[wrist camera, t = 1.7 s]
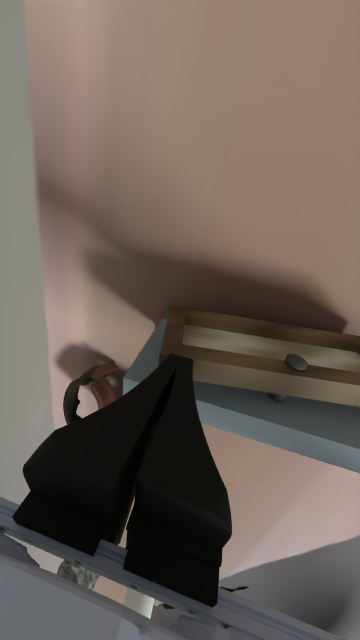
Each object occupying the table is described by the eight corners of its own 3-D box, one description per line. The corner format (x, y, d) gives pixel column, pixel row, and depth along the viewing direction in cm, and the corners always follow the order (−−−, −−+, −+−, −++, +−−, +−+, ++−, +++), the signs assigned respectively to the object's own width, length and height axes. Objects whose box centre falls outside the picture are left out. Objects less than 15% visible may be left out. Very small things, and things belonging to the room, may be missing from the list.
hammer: (74, 514, 69) (80, 503, 50) (105, 519, 71) (123, 511, 52) (49, 587, 58) (45, 609, 39) (86, 591, 60) (100, 614, 41)
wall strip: (378, 362, 19) (481, 479, 11) (348, 399, 22) (413, 516, 14) (166, 309, 22) (123, 372, 14) (161, 347, 24) (122, 420, 16)
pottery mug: (108, 412, 34) (56, 437, 27) (112, 352, 33) (60, 362, 26) (173, 440, 28) (128, 482, 21) (178, 368, 27) (135, 386, 20)
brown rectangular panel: (369, 334, 17) (444, 395, 12) (347, 364, 19) (405, 429, 14) (171, 301, 17) (160, 349, 12) (166, 335, 18) (154, 390, 13)
